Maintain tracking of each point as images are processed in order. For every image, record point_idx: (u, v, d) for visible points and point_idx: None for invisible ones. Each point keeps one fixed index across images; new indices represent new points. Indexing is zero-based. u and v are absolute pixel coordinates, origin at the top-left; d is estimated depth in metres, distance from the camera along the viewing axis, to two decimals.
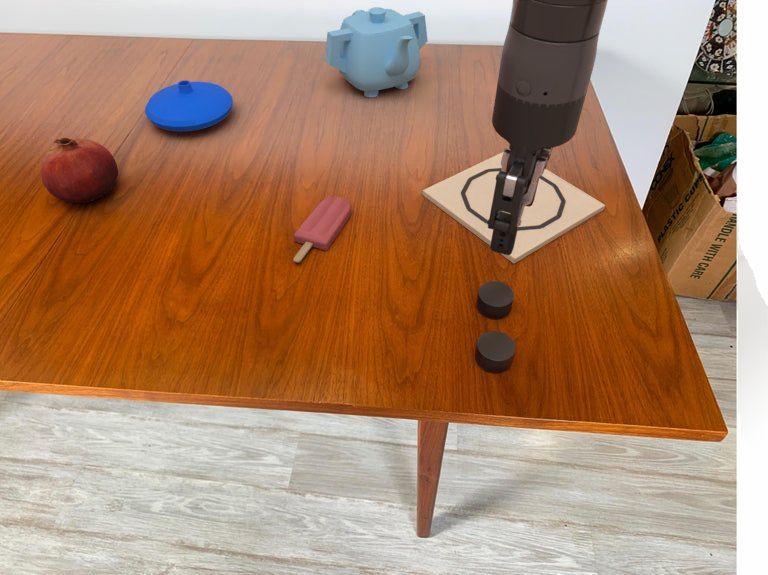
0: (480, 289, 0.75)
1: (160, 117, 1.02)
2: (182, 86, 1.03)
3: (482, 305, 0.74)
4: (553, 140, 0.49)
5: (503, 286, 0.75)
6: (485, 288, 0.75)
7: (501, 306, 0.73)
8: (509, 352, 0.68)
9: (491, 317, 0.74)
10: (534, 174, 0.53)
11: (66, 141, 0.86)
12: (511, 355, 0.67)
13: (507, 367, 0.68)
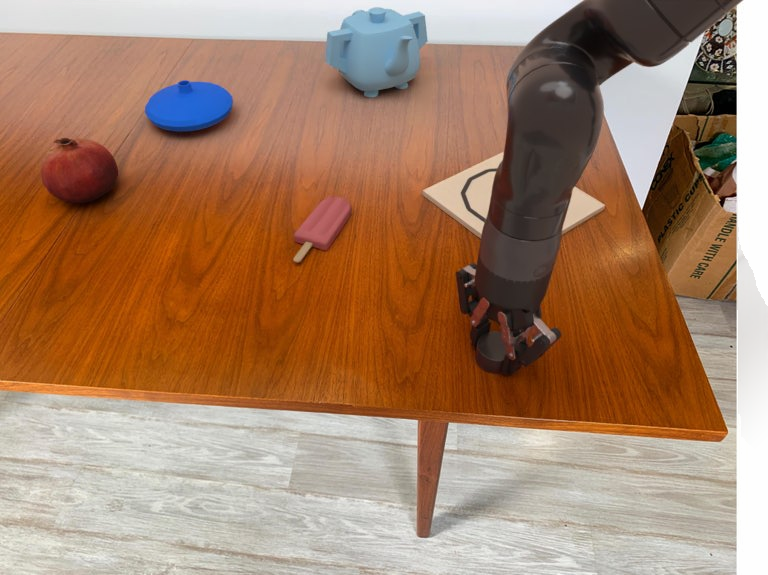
0: None
1: (160, 117, 1.02)
2: (182, 86, 1.03)
3: None
4: None
5: None
6: None
7: None
8: None
9: None
10: None
11: (66, 141, 0.86)
12: None
13: None
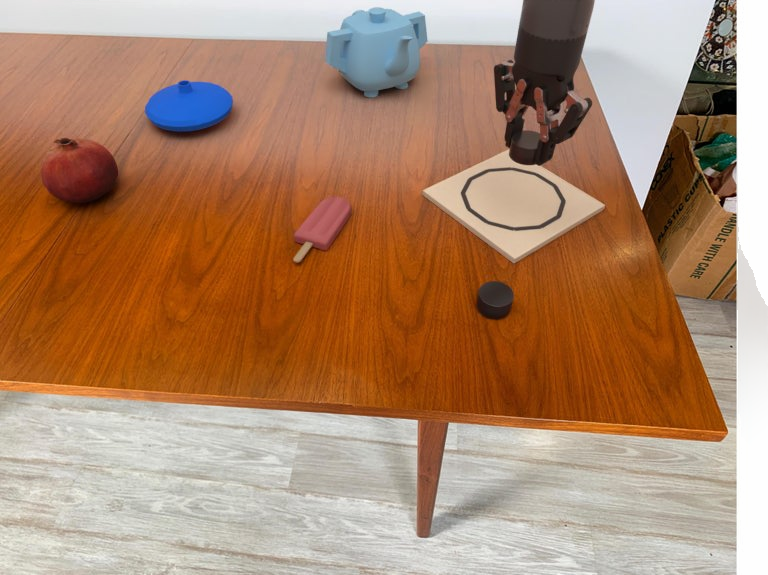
0: (480, 289, 0.75)
1: (160, 117, 1.02)
2: (182, 86, 1.03)
3: (482, 305, 0.74)
4: None
5: (503, 286, 0.75)
6: (485, 288, 0.75)
7: (501, 306, 0.73)
8: None
9: (491, 317, 0.74)
10: None
11: (66, 141, 0.86)
12: None
13: None
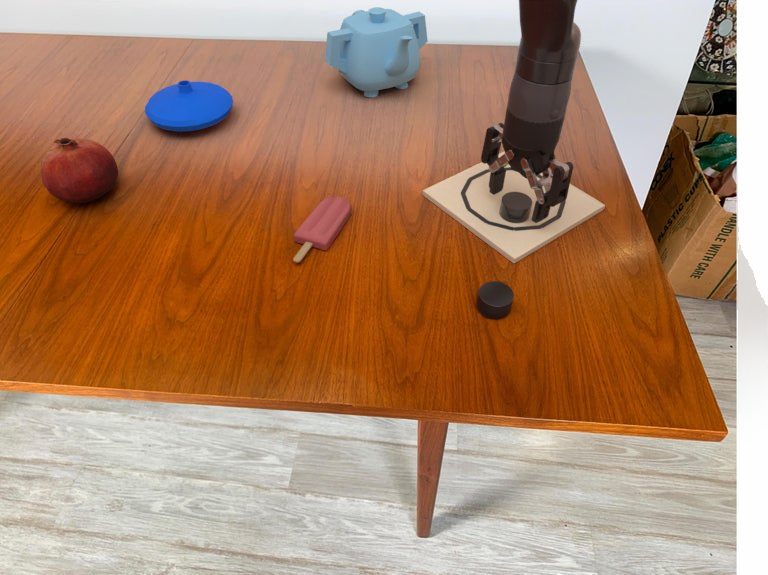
0: (480, 289, 0.75)
1: (160, 117, 1.02)
2: (182, 86, 1.03)
3: (482, 305, 0.74)
4: None
5: (503, 286, 0.75)
6: (485, 288, 0.75)
7: (501, 306, 0.73)
8: (527, 204, 0.85)
9: (491, 317, 0.74)
10: None
11: (66, 141, 0.86)
12: (529, 206, 0.85)
13: (525, 218, 0.86)
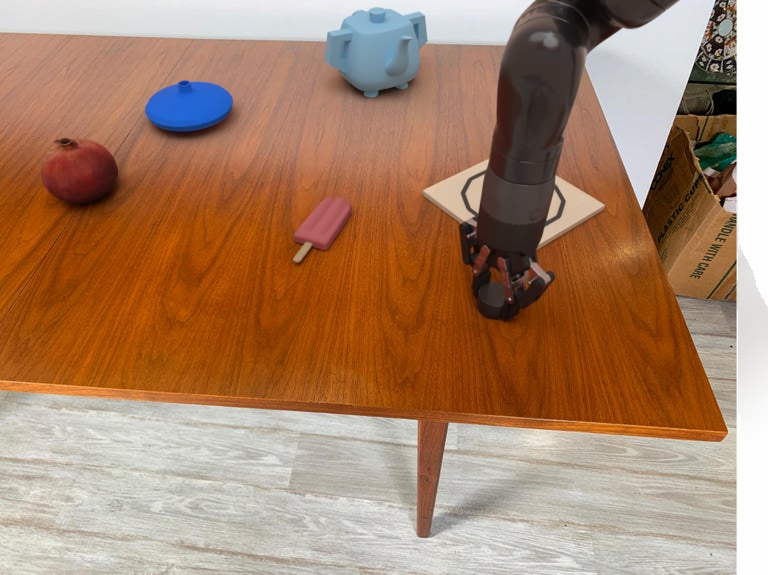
0: (480, 289, 0.75)
1: (160, 117, 1.02)
2: (182, 86, 1.03)
3: (482, 305, 0.74)
4: None
5: None
6: (485, 288, 0.75)
7: (501, 306, 0.73)
8: None
9: (492, 317, 0.74)
10: None
11: (66, 141, 0.86)
12: None
13: None
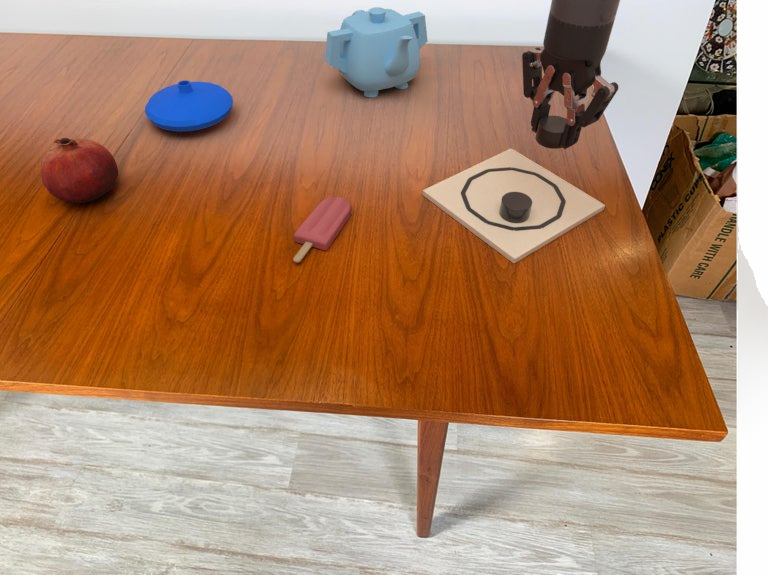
0: (540, 121, 0.79)
1: (160, 117, 1.02)
2: (182, 86, 1.03)
3: (542, 134, 0.78)
4: None
5: (561, 119, 0.80)
6: (544, 120, 0.79)
7: (561, 132, 0.77)
8: (527, 204, 0.85)
9: (551, 145, 0.79)
10: None
11: (66, 141, 0.86)
12: (529, 206, 0.85)
13: (525, 218, 0.86)
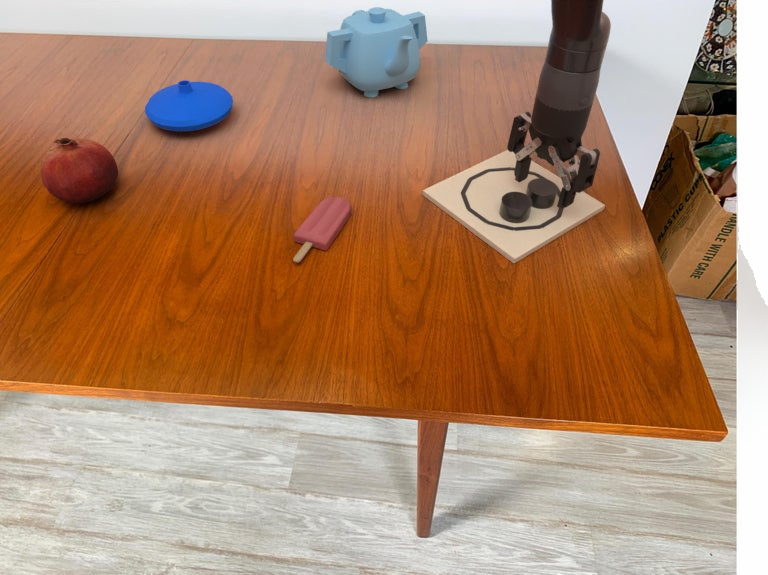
0: (529, 184, 0.89)
1: (160, 117, 1.02)
2: (182, 86, 1.03)
3: (531, 196, 0.88)
4: None
5: (548, 182, 0.89)
6: (533, 183, 0.89)
7: (547, 196, 0.87)
8: (527, 204, 0.85)
9: (539, 206, 0.88)
10: None
11: (66, 141, 0.86)
12: (529, 206, 0.85)
13: (525, 218, 0.86)
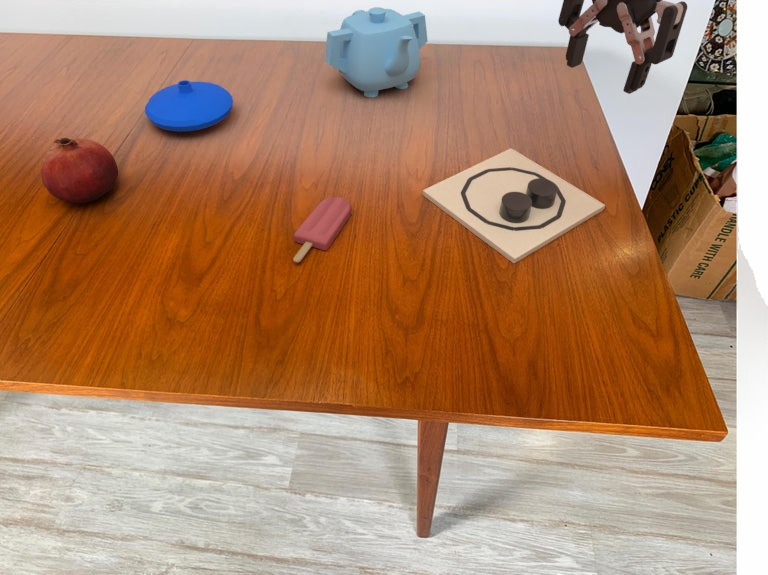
0: (529, 184, 0.89)
1: (160, 117, 1.02)
2: (182, 86, 1.03)
3: (531, 196, 0.88)
4: None
5: (548, 182, 0.89)
6: (533, 183, 0.89)
7: (547, 196, 0.87)
8: (527, 204, 0.85)
9: (539, 206, 0.88)
10: None
11: (66, 141, 0.86)
12: (529, 206, 0.85)
13: (525, 218, 0.86)
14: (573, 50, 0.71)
